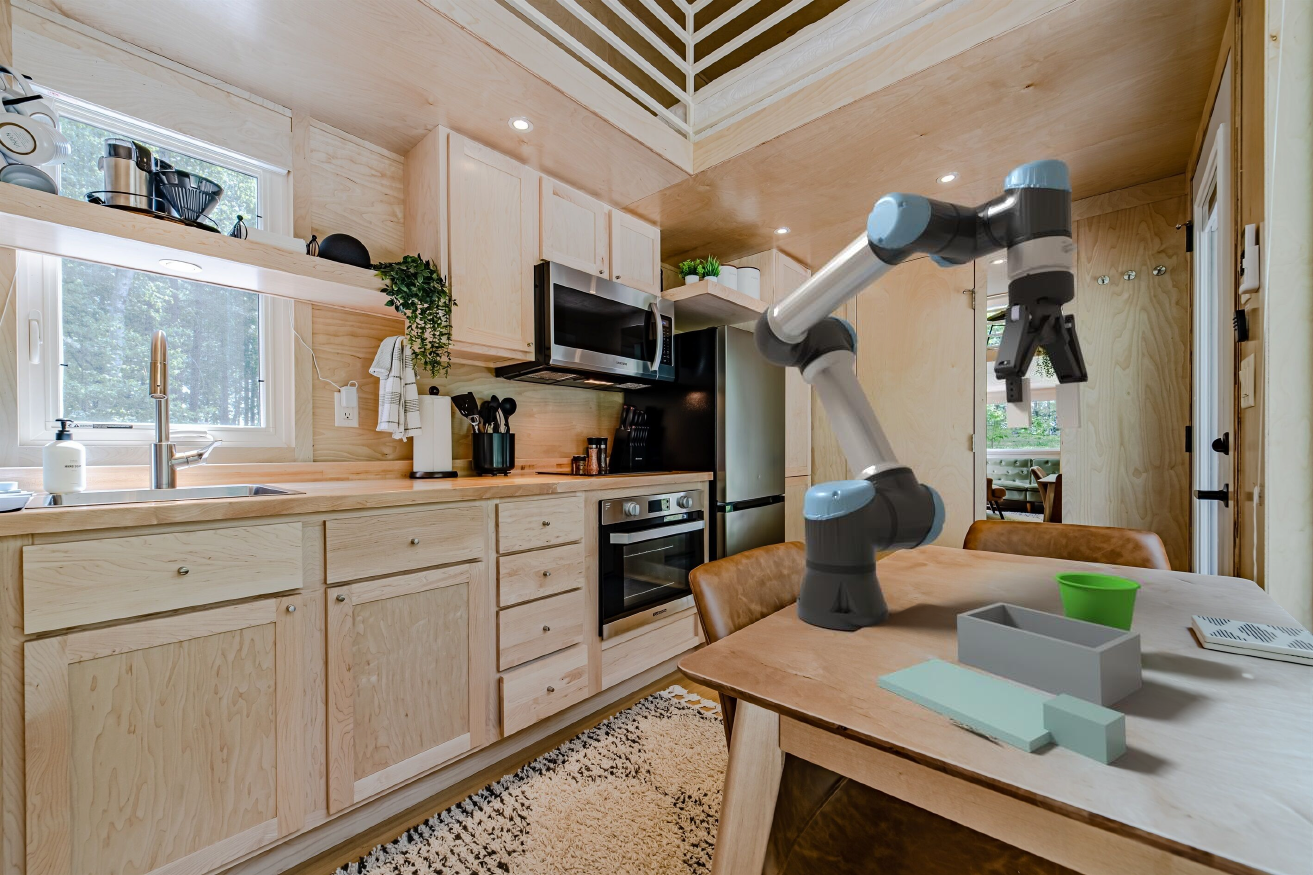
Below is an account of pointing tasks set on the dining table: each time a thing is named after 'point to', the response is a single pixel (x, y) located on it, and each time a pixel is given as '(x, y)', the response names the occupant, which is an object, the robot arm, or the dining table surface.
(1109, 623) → the cup
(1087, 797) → the dining table surface
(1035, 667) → the tub
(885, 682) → the lid
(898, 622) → the dining table surface
